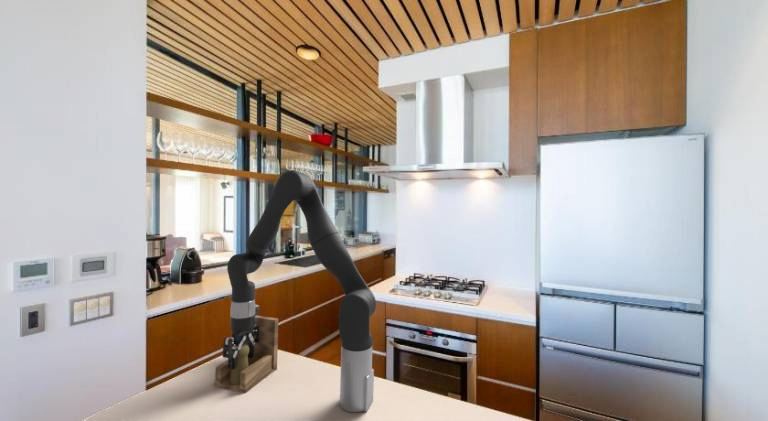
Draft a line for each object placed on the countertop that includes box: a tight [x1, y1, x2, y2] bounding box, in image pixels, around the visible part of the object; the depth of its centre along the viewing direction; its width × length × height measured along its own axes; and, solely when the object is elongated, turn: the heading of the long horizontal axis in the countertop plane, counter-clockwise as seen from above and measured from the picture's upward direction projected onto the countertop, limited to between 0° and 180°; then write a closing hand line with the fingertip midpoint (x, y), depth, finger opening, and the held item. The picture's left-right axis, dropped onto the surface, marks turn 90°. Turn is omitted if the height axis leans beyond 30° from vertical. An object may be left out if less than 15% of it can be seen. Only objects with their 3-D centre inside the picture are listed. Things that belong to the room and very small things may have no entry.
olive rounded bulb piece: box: [230, 344, 249, 385], centre depth 104 cm, size 6×6×11 cm
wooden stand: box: [213, 315, 279, 394], centre depth 108 cm, size 12×16×18 cm
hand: (241, 362), depth 105 cm, fingers open, 8 cm apart
